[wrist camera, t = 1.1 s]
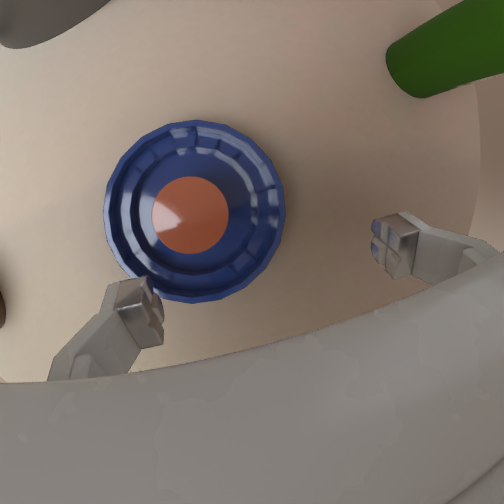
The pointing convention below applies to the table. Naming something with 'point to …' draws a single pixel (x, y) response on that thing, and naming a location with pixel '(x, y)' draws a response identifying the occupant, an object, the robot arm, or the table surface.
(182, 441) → the robot arm
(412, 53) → the wine bottle
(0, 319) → the stand
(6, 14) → the container
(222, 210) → the terracotta cylinder
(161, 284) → the bowl
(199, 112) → the table surface
